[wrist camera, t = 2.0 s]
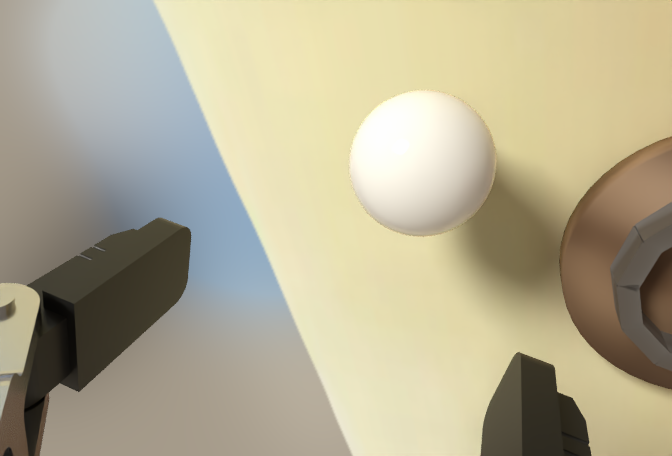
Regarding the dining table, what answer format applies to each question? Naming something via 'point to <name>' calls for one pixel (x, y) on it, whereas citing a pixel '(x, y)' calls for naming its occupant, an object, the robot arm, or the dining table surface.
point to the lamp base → (625, 265)
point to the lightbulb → (422, 163)
